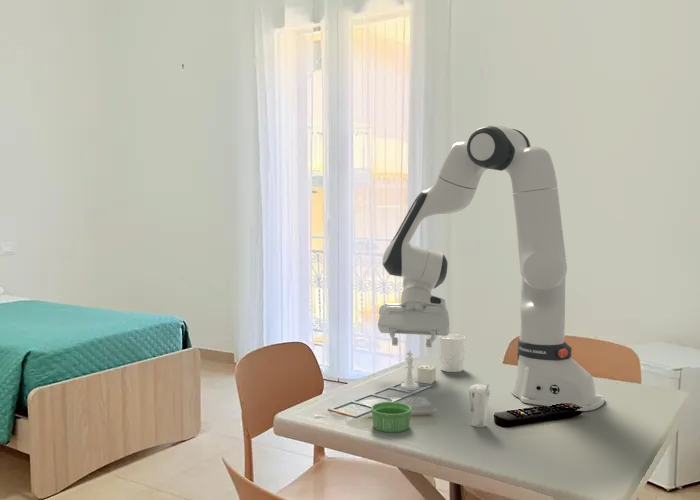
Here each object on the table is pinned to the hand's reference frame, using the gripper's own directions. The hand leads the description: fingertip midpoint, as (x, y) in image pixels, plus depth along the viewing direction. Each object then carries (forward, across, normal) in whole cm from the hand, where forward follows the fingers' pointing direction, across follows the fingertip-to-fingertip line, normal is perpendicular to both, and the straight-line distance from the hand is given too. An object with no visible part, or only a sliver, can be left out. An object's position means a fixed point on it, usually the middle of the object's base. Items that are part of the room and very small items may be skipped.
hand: (411, 345), depth 180 cm
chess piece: (+11, 0, +3) cm, 12 cm away
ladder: (+19, -5, -4) cm, 20 cm away
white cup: (-4, +10, +19) cm, 22 cm away
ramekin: (+34, 0, -19) cm, 38 cm away
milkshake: (+30, +19, -16) cm, 39 cm away
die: (+6, +4, +9) cm, 11 cm away
